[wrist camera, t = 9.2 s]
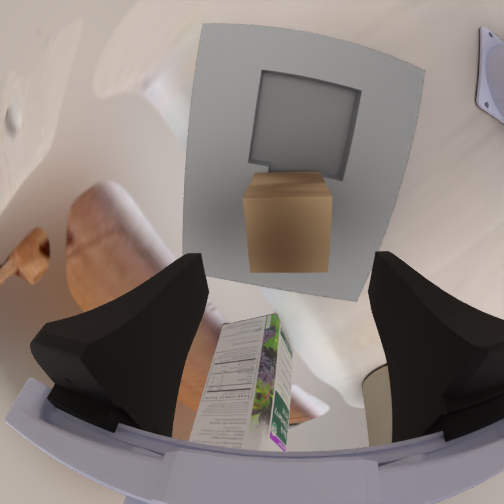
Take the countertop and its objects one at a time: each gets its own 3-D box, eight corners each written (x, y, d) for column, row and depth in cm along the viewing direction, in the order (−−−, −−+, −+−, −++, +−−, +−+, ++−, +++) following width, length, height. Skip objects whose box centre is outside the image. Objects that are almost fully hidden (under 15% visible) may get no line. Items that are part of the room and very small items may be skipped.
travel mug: (380, 399, 31) (391, 512, 16) (350, 382, 29) (358, 518, 14) (427, 372, 28) (455, 491, 12) (404, 350, 26) (436, 497, 10)
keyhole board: (412, 72, 13) (425, 70, 11) (352, 286, 22) (356, 301, 20) (211, 31, 13) (202, 23, 12) (190, 257, 23) (182, 271, 21)
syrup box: (294, 349, 27) (288, 484, 14) (243, 358, 29) (218, 481, 16) (276, 311, 24) (260, 468, 12) (219, 323, 26) (179, 462, 14)
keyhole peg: (317, 166, 17) (332, 197, 12) (316, 221, 19) (327, 272, 14) (257, 167, 18) (243, 198, 12) (261, 221, 20) (250, 272, 14)
